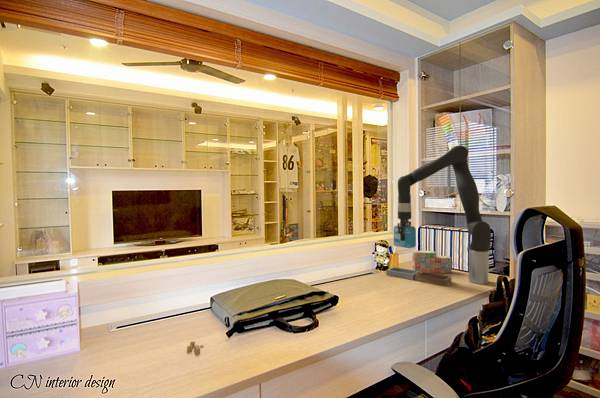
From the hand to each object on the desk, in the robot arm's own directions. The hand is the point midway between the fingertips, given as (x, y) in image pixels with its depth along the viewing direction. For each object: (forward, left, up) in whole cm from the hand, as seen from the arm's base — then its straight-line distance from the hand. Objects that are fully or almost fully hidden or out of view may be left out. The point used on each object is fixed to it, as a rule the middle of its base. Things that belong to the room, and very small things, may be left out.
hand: (404, 239), depth 183 cm
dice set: (+125, -15, -22) cm, 128 cm away
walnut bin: (0, +16, -21) cm, 27 cm away
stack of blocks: (-21, +8, -21) cm, 31 cm away
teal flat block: (0, 0, -4) cm, 4 cm away
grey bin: (0, -1, -21) cm, 21 cm away
